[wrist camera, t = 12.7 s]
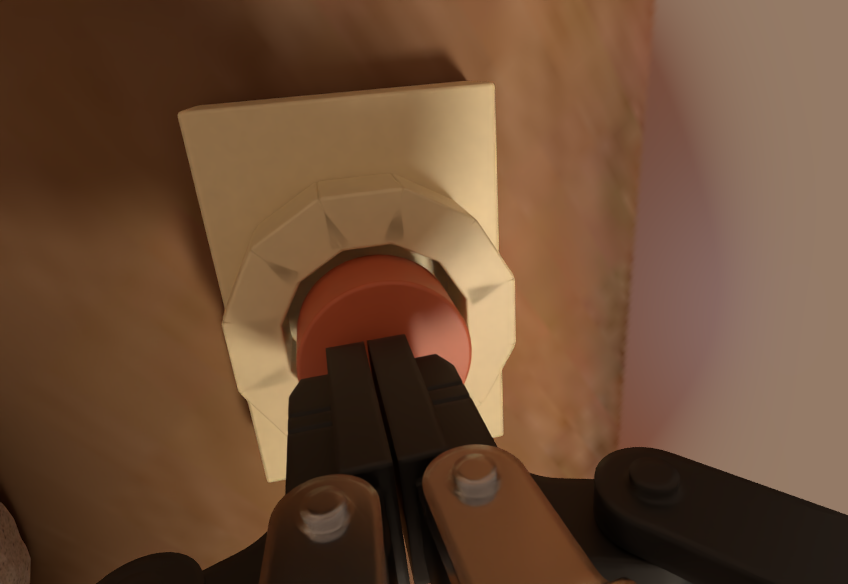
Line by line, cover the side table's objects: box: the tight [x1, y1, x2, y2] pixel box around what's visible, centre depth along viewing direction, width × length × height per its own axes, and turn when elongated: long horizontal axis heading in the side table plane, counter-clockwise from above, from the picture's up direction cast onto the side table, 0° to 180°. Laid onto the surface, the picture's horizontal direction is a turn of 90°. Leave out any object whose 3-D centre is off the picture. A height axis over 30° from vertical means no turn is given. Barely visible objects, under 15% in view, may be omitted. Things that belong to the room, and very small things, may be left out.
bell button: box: [296, 254, 472, 384], centre depth 12 cm, size 4×4×2 cm
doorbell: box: [178, 81, 516, 482], centre depth 14 cm, size 10×7×4 cm
